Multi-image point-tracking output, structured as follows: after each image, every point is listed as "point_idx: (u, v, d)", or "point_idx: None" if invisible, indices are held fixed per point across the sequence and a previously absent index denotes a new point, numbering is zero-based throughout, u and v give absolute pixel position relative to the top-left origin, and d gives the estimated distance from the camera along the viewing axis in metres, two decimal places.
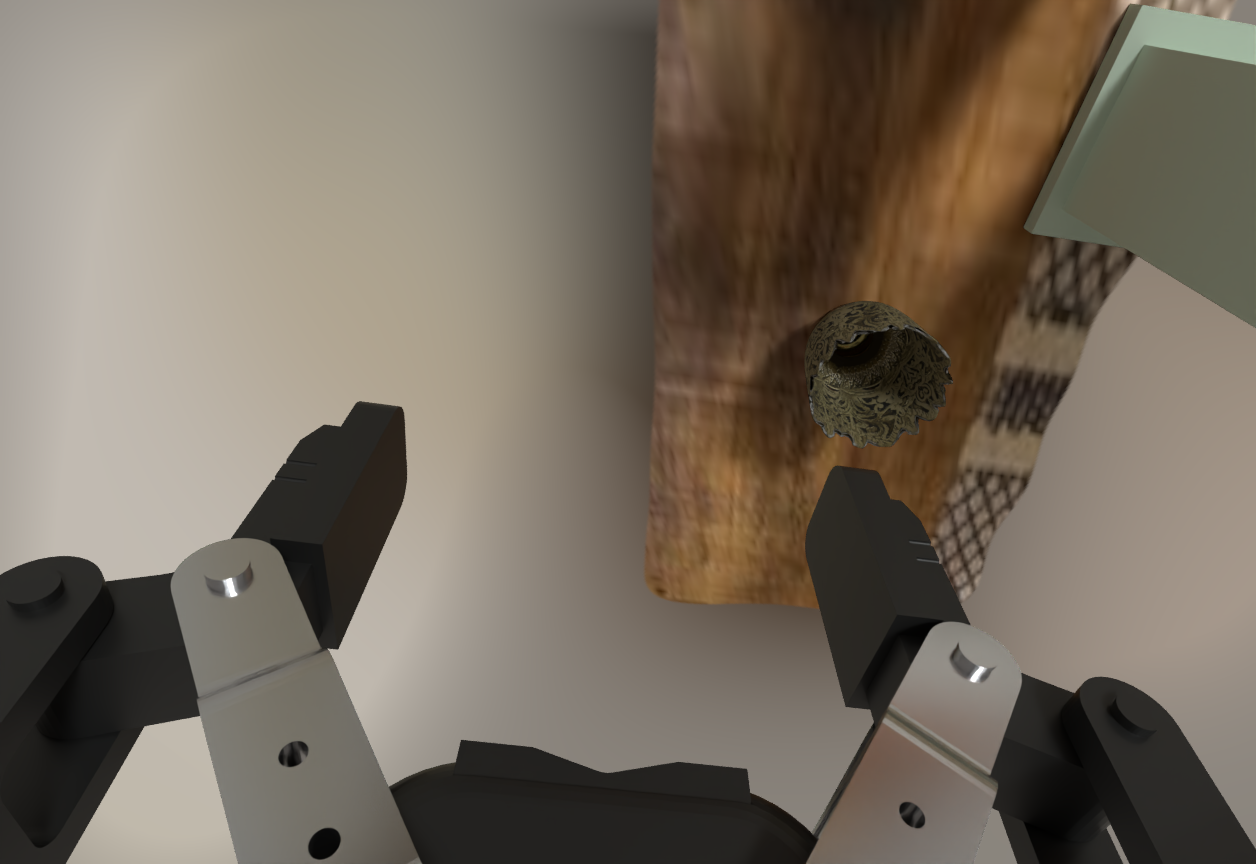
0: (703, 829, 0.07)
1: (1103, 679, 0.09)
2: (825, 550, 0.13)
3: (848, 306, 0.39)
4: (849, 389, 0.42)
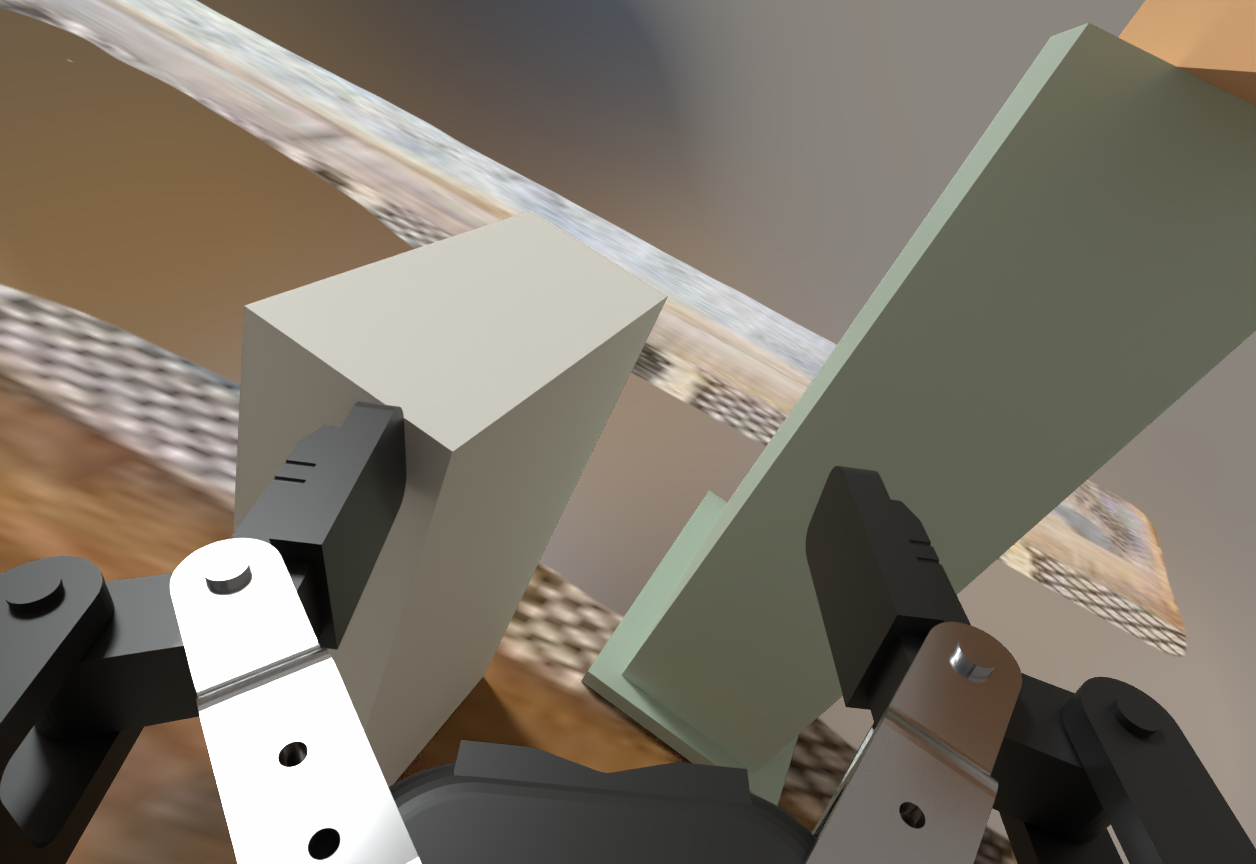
0: (703, 829, 0.07)
1: (1103, 679, 0.09)
2: (825, 550, 0.13)
3: None
4: None
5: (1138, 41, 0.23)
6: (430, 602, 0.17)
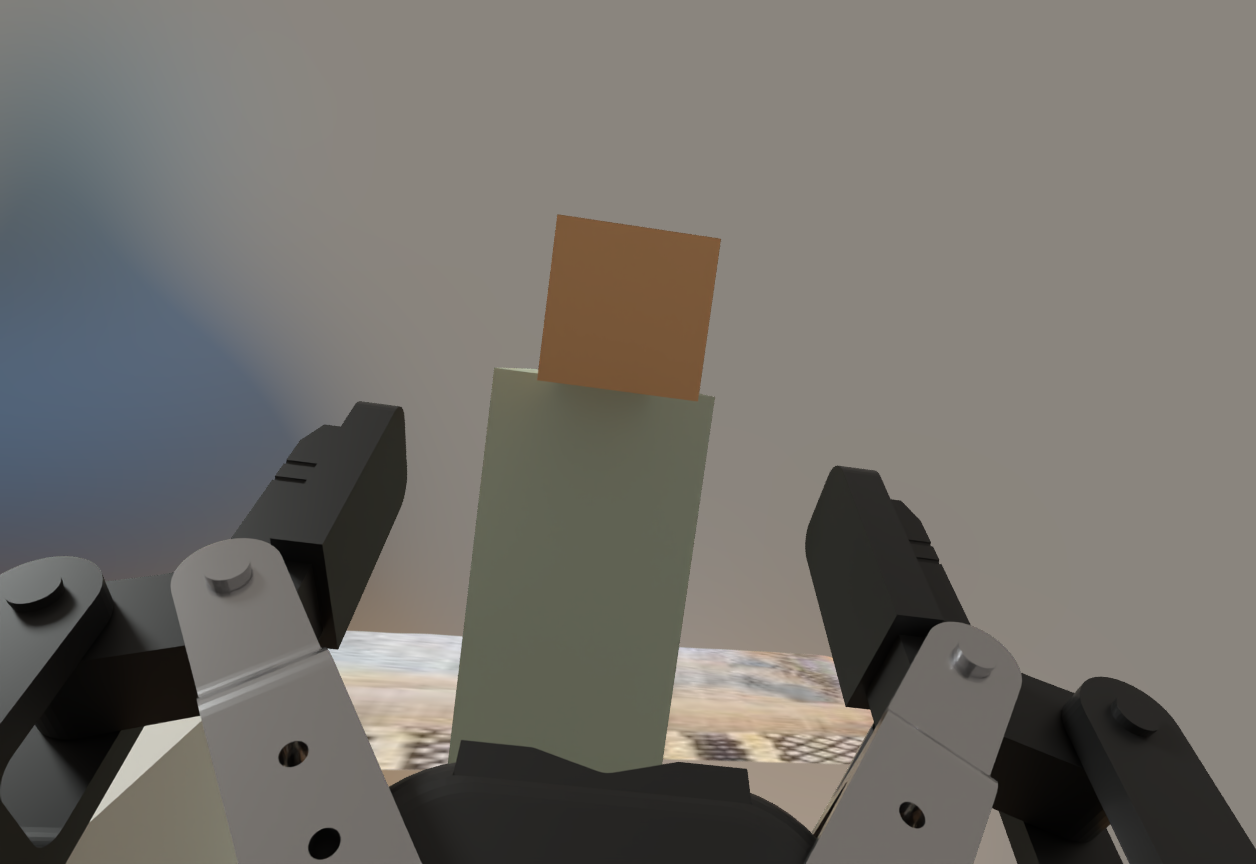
0: (703, 829, 0.07)
1: (1103, 679, 0.09)
2: (825, 550, 0.13)
3: None
4: None
5: None
6: None
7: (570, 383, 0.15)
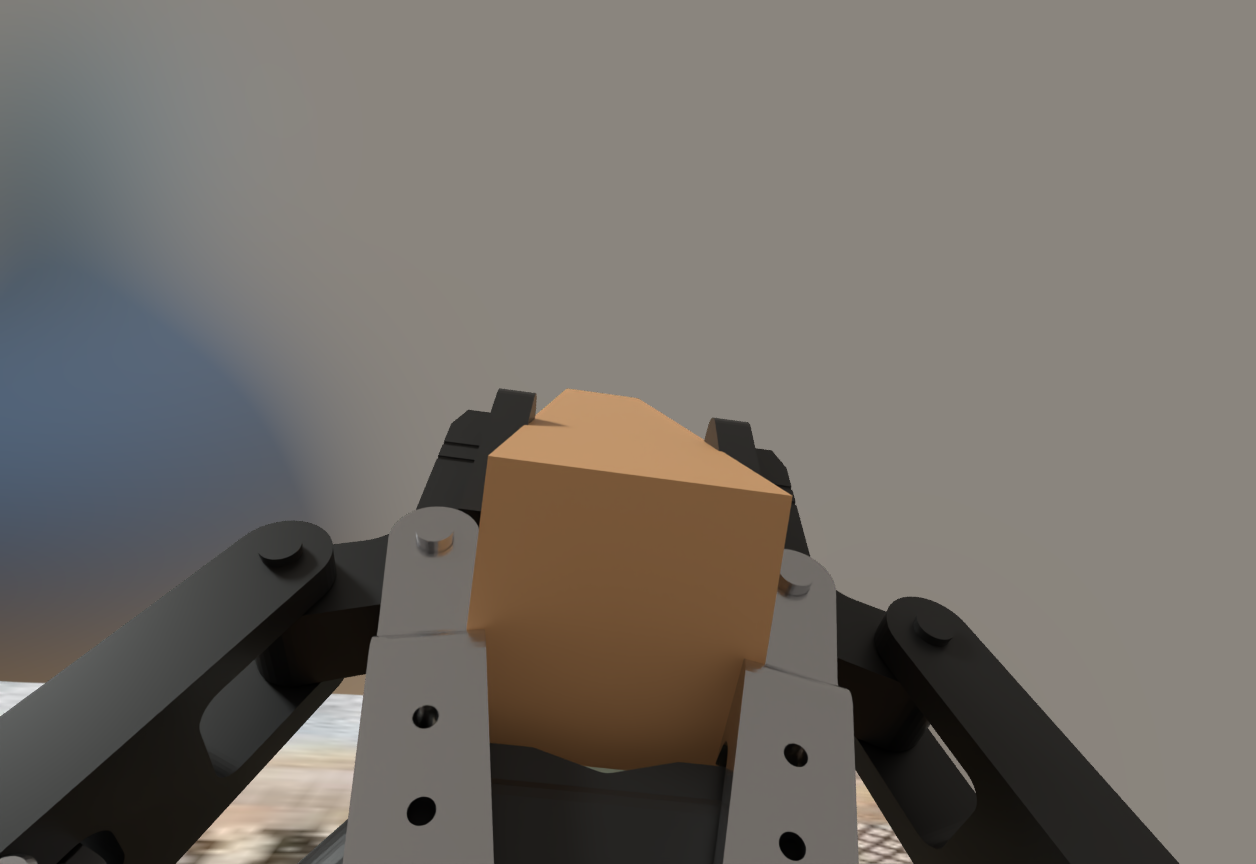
0: (703, 829, 0.07)
1: (900, 600, 0.10)
2: None
3: None
4: None
5: None
6: None
7: None
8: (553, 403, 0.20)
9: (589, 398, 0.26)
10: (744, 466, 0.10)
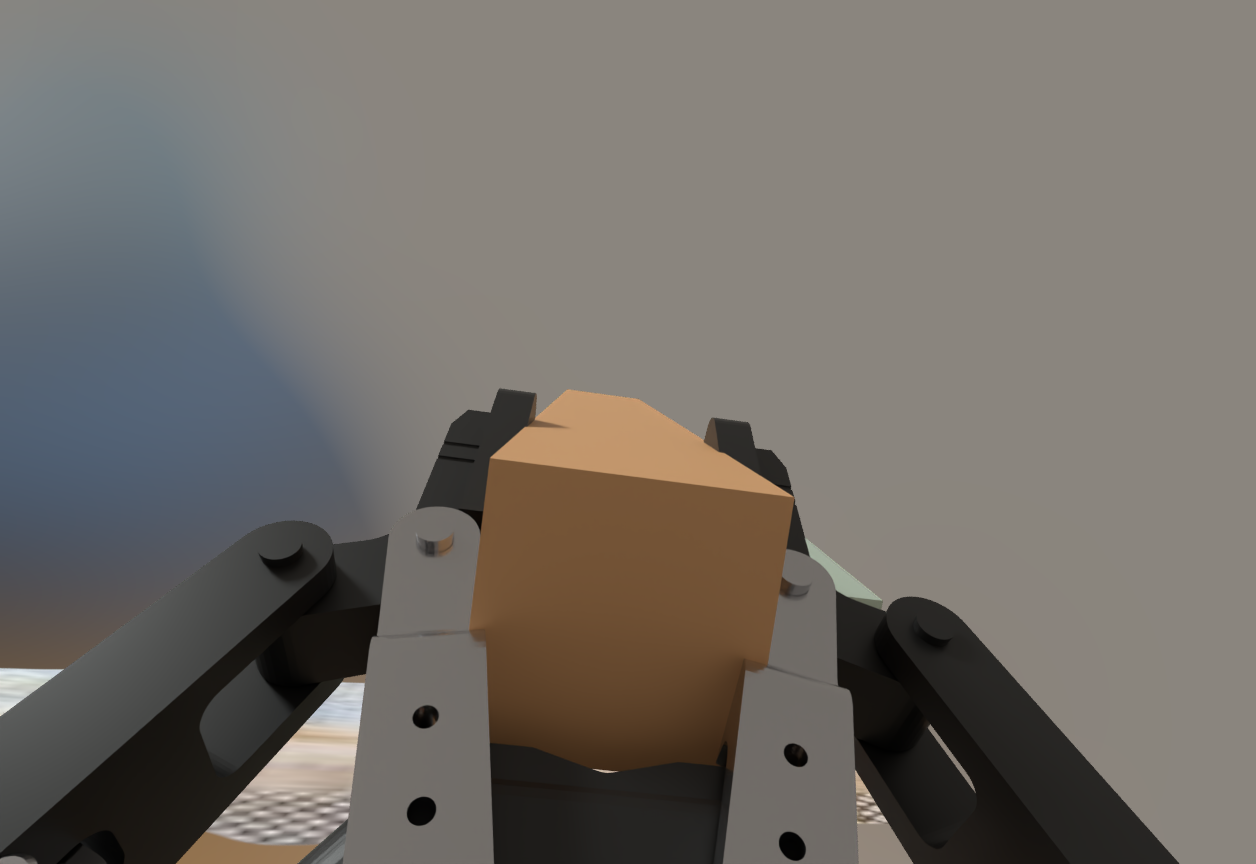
0: (703, 829, 0.07)
1: (900, 600, 0.10)
2: None
3: None
4: None
5: None
6: None
7: None
8: (554, 404, 0.20)
9: (590, 399, 0.26)
10: (746, 467, 0.10)
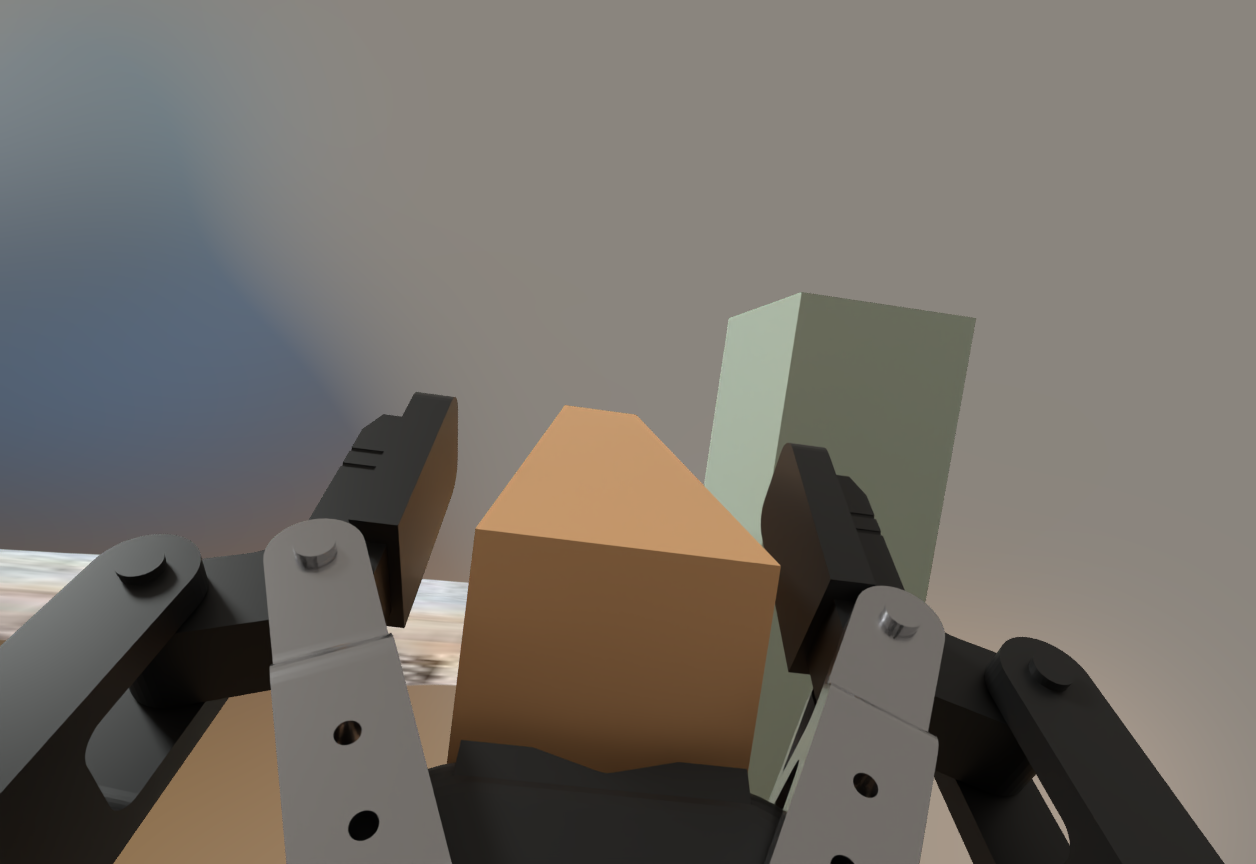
0: (703, 829, 0.07)
1: (1018, 639, 0.09)
2: (776, 525, 0.13)
3: None
4: None
5: None
6: None
7: None
8: (549, 432, 0.19)
9: (586, 420, 0.26)
10: (735, 520, 0.10)
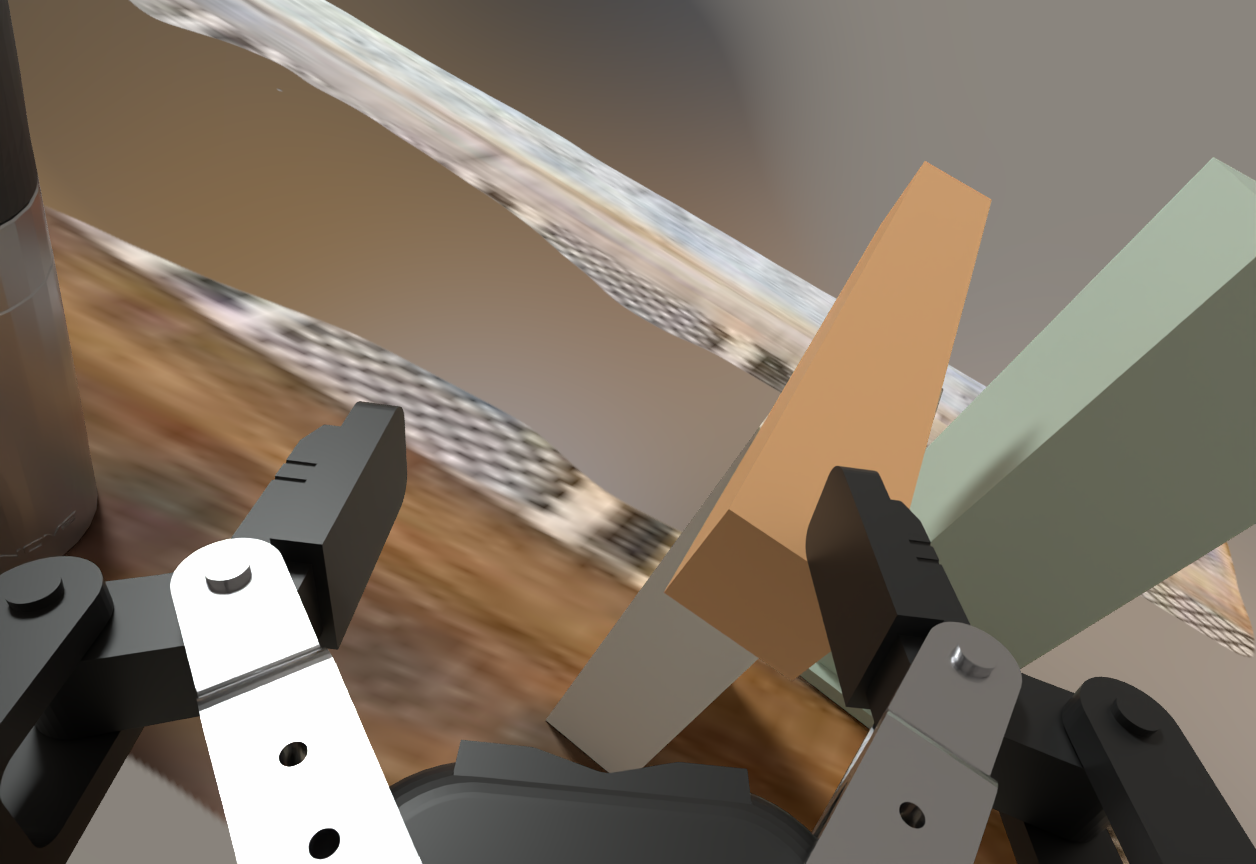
0: (703, 829, 0.07)
1: (1103, 678, 0.09)
2: (825, 550, 0.13)
3: None
4: None
5: (859, 262, 0.29)
6: None
7: (689, 609, 0.16)
8: (861, 279, 0.22)
9: (920, 228, 0.26)
10: None
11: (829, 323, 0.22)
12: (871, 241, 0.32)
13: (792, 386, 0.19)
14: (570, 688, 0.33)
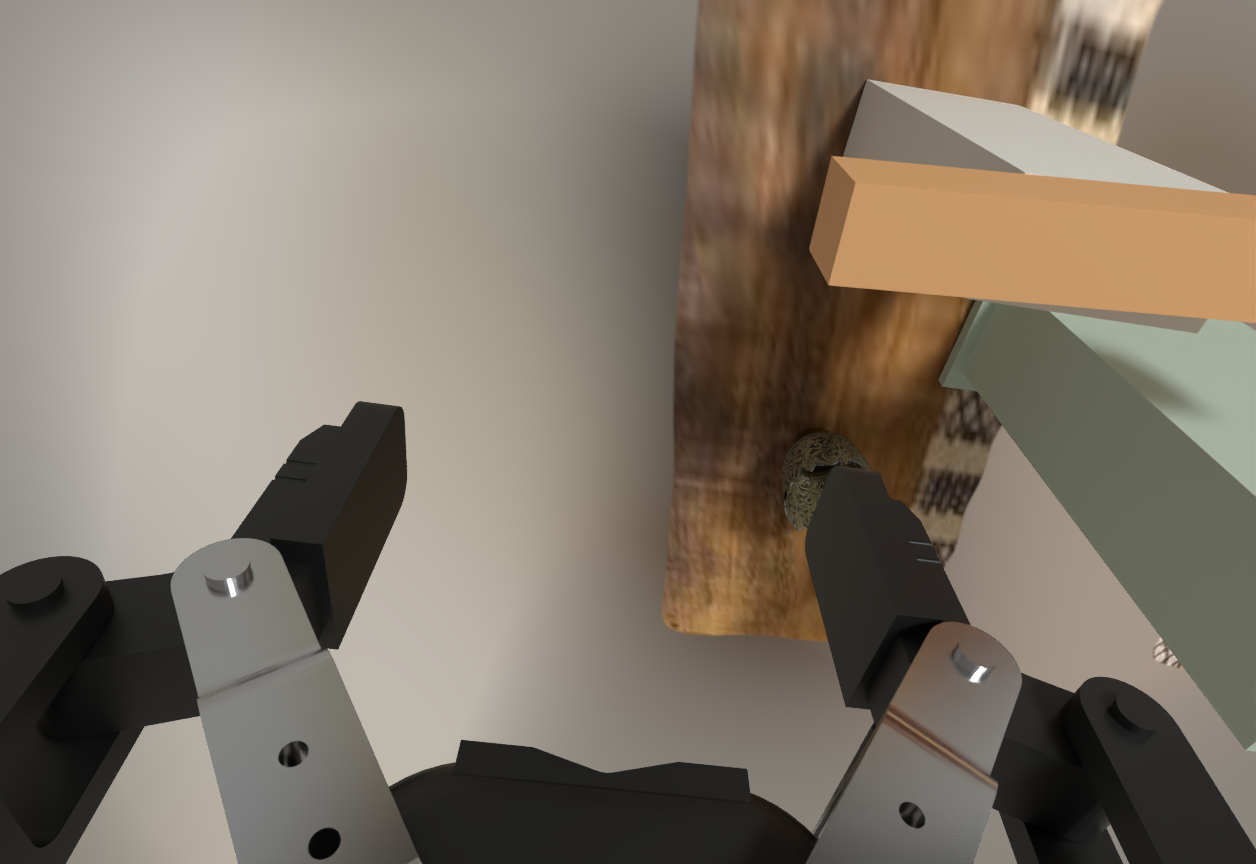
0: (703, 829, 0.07)
1: (1103, 678, 0.09)
2: (825, 550, 0.13)
3: (812, 437, 0.55)
4: (815, 489, 0.58)
5: None
6: None
7: None
8: (1213, 219, 0.22)
9: None
10: (895, 290, 0.24)
11: (1149, 202, 0.23)
12: None
13: (1038, 190, 0.23)
14: (883, 90, 0.40)
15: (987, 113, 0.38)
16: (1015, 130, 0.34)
